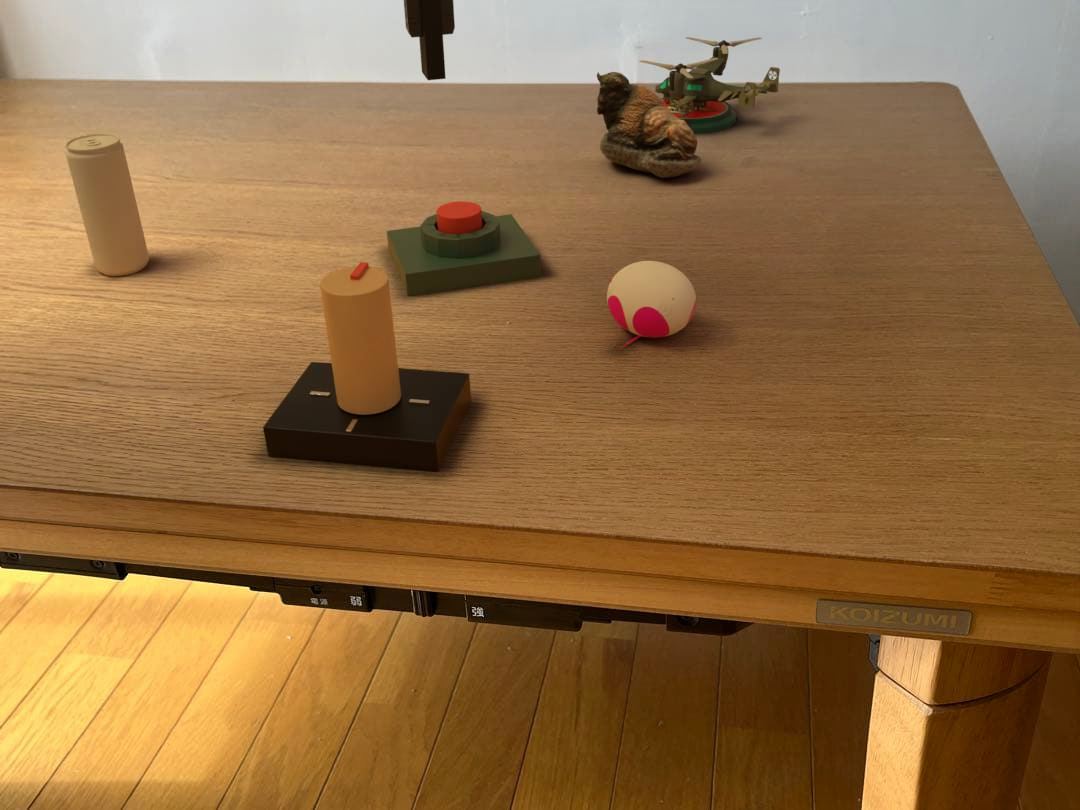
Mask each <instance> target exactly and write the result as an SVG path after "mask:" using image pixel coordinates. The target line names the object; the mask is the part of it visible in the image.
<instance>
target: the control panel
mask: <svg viewBox="0 0 1080 810" xmlns="http://www.w3.org/2000/svg"><path fill="white" fill-rule="evenodd" d="M398 370H399V379H400V388H401V398H400V401H399V402H398V403H397V404H396V405H395V406H394V407H392V408H391V409H389V410H386V411H384V412H381V413H377V414H370V415H357V414H352V413H348V412H346V411H344V410H343V409H341V408H340V407H339V405H338V403H337V397H336V390H335V383H334V376H333V369H332V363H331V362H322V361H321V362H320V361H311V362H310V363H309V364H308V366H307V367H306V369H305V370H304V371H303V373H301V375H300V376H299V378H298V379H297V381H296V382H295V383H294V385H293V386H292V387H291V389H290V390H289V391H288V393H287V394H286V395H285V397H284V398H283V400H282V401H281V402H280V403H279V405H278V406H277V408H276V409H275V410H274V412H272V414H271V415H270V417H269V418H268V420H267V421H266V422H265V424H264V425H263V427H262V430H263V435H264V440H265V446H266V452H267V457H269V458H274V459H275V458H277V459H287V460H297V461H307V462H320V463H330V464H342V465H353V466H364V467H373V468H386V469H397V470H408V471H419V472H429V473H439V472H440V469H441V468H442V466H443V464H444V461H445V459H446V457H447V455H448V453H449V451H450V448H451V447H452V444H453V442H454V440H455V437H456V436H457V434H458V432H459V429H460V428H461V426H462V423H463V421H464V419H465V417H466V414H467V412H468V411H469V408H470V406H471V404H472V392H471V391H472V390H471V379H470V373H468V372H455V371H443V370H430V369H429V370H427V369H417V368H416V369H415V368H402V367H398Z"/></svg>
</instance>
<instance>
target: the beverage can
mask: <svg viewBox="0 0 1080 810" xmlns="http://www.w3.org/2000/svg"><path fill="white" fill-rule="evenodd" d="M64 147H65V149H66V150H65V157H66V161H67V165H68V168H69V171H70V176H71V180H72V183H73V188H74V192H75V195H76V199H77V203H78V206H79V211H80V214H81V218H82V221H83V225H84V229H85V233H86V236H87V237H86V238H87V240H88V244H89V249H90V252H91V257H92V260H93V263H94V267H95V269H96V270H97V271H98V272H99V273H101V274H103V275H105V276H108V277H123V276H128V275H132V274H135V273H138V272H140V271H142V270H144V268H146V267H147V265H148V263H149V261H150V255H149V250H148V247H147V242H146V238H145V234H144V230H143V229H144V228H143V226H142V221H141V216H140V211H139V208H138V204H137V199H136V195H135V191H134V186H133V182H132V178H131V177H132V176H131V174H130V169H129V164H128V161H127V155H126V151H125V148H124V144H123V143H122V142H121V137H120V136H119V135H118V134H115V133H111V132H96V133H89V134H88V133H87V134H85V135H83V134H82V135H79V136H76V137H73V138H71V139H69V140H67V141H66V142H65V144H64Z"/></svg>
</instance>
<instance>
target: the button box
mask: <svg viewBox="0 0 1080 810" xmlns="http://www.w3.org/2000/svg"><path fill="white" fill-rule="evenodd" d="M386 238H387V247H388V253H389V256H390V259H391V261H392V263H393V265H394V268H395V270H396V272H397V276H398V277H399V280H400V282H401V284H402V287H403V289H404V292H405V294H406V296H407V297H413V296H421V295H427V294H434V293H435V294H436V293H440V292H442V293H443V292H447V291H453V290H460V289H466V288H468V289H469V288H475V287H481V286H488V285H494V284H502V283H509V282H515V281H522V280H528V279H534V278H541V277H542V270H541V269H542V268H541V267H542V266H541V265H542V264H541V254H540V252H539V251H538V250H537V248H536V247H535V245H534V244H533V242H532V241H531V240H530V238H529V237H528V235H527V234H526V232H525V231H524V230H523V229H522V227H521V225H520V224H519V223H518V220H516V218H515V217H514V216H513V214H512V213H510V214H509V213H508V214H502V215H495V214H492V213H490V212H486V211H485V210H482V229H479V230H477V231H475V232H472V233H465V234H447V233H443V232H441V231H439V230H438V224H437V213H435V214H433V215H430V216H427V217H425V219H424V220H423V221H422V223H421V224H420V225H419V226H413V227H405V228H399V229H391V230H386Z"/></svg>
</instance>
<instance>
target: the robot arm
mask: <svg viewBox="0 0 1080 810" xmlns="http://www.w3.org/2000/svg"><path fill="white" fill-rule="evenodd" d="M403 6H404V7H403V11H404V20H405V21H404V22H405V23H404V24H405V29H406V31H407V33H408V35H409V36H410V37H411V39H412V38H413V39H414V38H419V39H418V40H419V52H420V53H419V54H420V65H421V66H420V67H421V73H422V74H423V76H424V77H425V79H426V80H427V81H435V80H436V81H437V80H446V79H447V78H446V77H447V76H446V65H445V64H446V63H445V50H444V49H445V47H444V36H445V35H446V36H447V35H453V34H454V31H455V28H456V26H455V25H456V23H455V9H454V0H403Z"/></svg>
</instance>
